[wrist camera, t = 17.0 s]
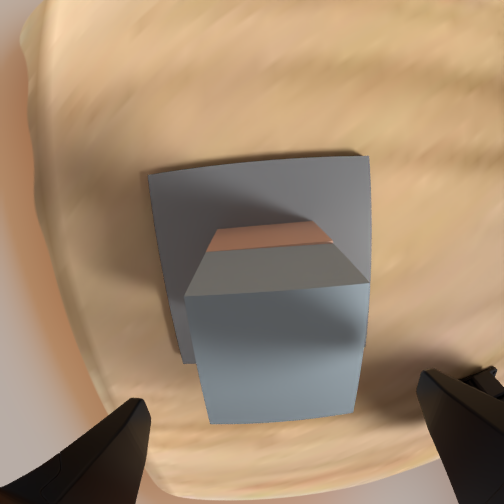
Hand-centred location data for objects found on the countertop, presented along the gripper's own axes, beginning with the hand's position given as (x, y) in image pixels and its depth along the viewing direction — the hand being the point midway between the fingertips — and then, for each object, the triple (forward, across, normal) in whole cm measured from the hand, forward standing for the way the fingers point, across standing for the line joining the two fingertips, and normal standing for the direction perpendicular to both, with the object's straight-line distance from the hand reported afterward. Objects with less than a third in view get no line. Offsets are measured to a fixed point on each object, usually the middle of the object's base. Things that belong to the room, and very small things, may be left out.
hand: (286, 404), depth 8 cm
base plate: (+13, 0, 0) cm, 13 cm away
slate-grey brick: (+7, 0, 0) cm, 7 cm away
